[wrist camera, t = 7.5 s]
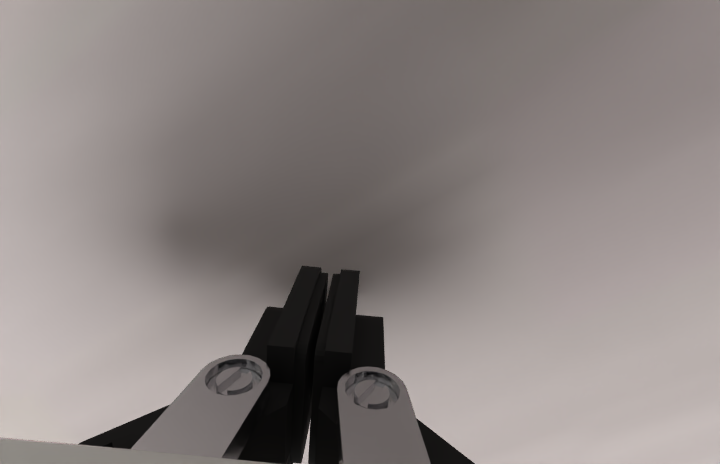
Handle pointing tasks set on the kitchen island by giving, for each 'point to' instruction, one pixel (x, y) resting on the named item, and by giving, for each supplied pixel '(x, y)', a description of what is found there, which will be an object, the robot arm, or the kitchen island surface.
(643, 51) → the kitchen island surface
